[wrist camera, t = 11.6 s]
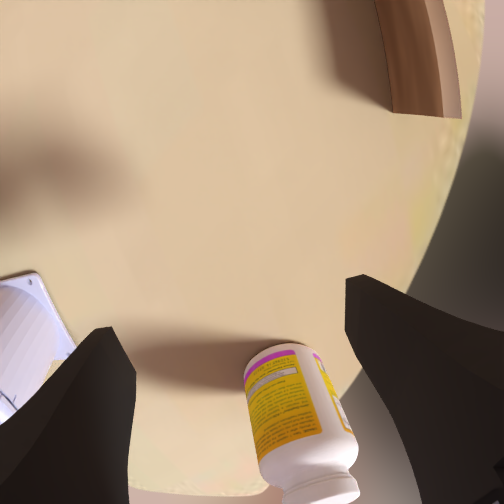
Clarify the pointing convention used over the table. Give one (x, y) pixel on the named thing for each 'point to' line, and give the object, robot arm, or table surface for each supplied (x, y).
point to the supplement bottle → (300, 427)
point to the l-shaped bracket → (420, 57)
